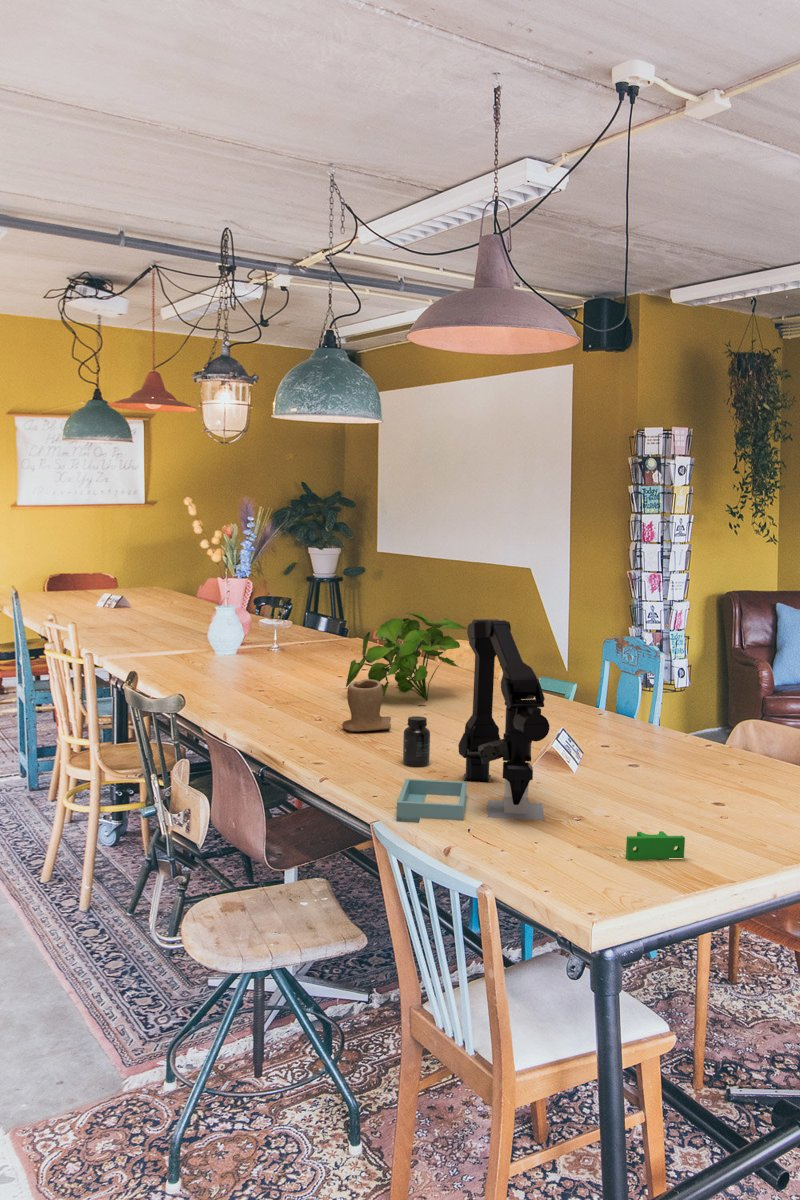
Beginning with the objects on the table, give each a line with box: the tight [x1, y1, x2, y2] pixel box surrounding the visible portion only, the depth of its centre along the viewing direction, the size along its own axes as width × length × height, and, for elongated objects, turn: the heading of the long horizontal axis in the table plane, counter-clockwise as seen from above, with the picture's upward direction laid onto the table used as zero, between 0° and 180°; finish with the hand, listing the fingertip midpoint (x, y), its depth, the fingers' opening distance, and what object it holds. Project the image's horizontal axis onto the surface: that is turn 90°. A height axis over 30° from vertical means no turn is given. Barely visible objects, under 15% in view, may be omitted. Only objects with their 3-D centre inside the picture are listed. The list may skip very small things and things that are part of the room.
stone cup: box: [341, 678, 392, 732], centre depth 287 cm, size 15×12×15 cm
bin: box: [395, 778, 468, 823], centre depth 215 cm, size 18×14×4 cm
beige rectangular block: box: [503, 779, 530, 814], centre depth 212 cm, size 5×5×9 cm
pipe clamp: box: [625, 830, 686, 861], centre depth 189 cm, size 11×4×5 cm, turn 96°
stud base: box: [486, 799, 545, 821], centre depth 213 cm, size 12×12×4 cm
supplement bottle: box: [402, 715, 431, 768], centre depth 252 cm, size 7×7×12 cm
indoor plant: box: [345, 612, 468, 701], centre depth 335 cm, size 44×42×30 cm
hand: (515, 800), depth 213 cm, fingers closed on beige rectangular block, 5 cm apart
